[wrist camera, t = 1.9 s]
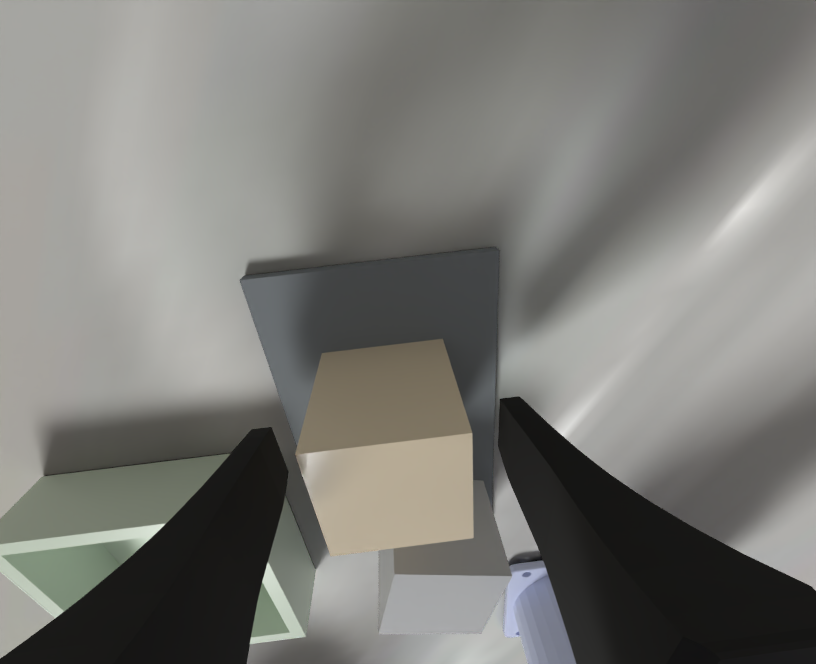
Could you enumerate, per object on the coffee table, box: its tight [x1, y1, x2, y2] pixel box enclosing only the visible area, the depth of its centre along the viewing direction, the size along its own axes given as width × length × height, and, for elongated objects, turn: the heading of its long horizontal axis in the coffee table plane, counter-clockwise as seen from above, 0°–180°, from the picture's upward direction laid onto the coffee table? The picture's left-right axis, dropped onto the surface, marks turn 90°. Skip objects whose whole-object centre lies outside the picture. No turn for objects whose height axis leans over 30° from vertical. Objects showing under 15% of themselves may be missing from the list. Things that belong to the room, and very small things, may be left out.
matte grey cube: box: [378, 480, 512, 634], centre depth 15 cm, size 4×4×4 cm
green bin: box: [0, 453, 316, 644], centre depth 16 cm, size 9×9×3 cm
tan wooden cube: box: [295, 339, 474, 556], centre depth 11 cm, size 4×4×4 cm
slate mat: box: [240, 247, 499, 507], centre depth 15 cm, size 8×14×1 cm, turn 5°
